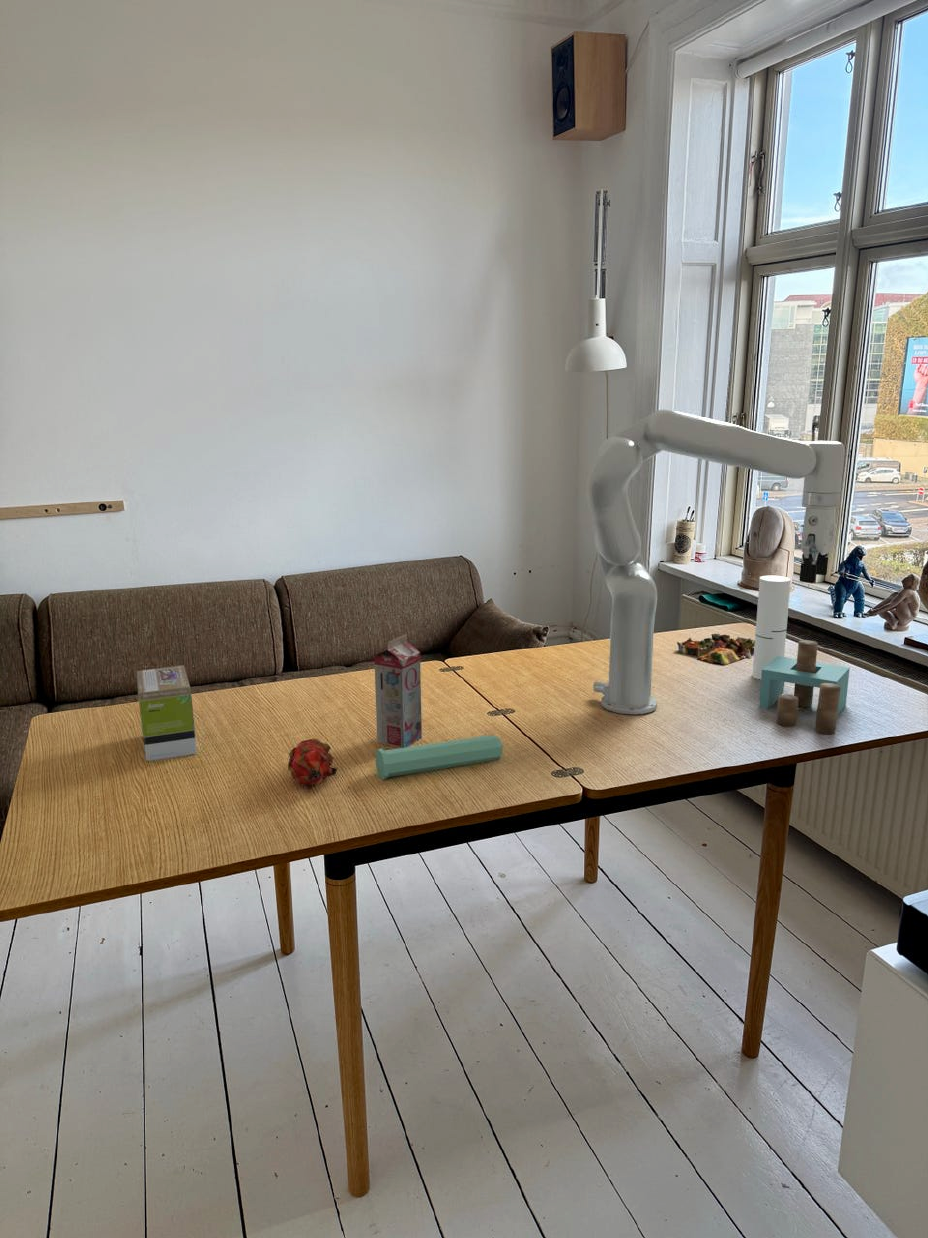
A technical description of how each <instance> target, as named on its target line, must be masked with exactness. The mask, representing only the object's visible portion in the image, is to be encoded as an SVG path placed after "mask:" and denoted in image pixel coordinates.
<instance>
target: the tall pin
mask: <svg viewBox="0 0 928 1238" xmlns="http://www.w3.org/2000/svg"><path fill="white" fill-rule="evenodd" d="M797 645H798V646H797V656H796V659H797V666H796V671H802V672H808V673H814V674H815V667H816V662H817V654H818V642H817V641H814V640H809V639H808V640H807V639H804V640H798V644H797ZM814 688H815V687H812V686H806V685H800V684H794V689H793V691H794V692H793V695H794V696H796V697H798V708H799V709H798V710H811V709H812V708H813V707H812V706H813V698H814ZM810 708H811V709H810Z"/></svg>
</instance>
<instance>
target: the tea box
mask: <svg viewBox="0 0 928 1238" xmlns="http://www.w3.org/2000/svg"><path fill="white" fill-rule="evenodd" d="M136 684H137V695H138V704H139V705H138V706H139V707H138V708H139V714H140V722H141V723H140V724H141V730H142V731H141V732H142V739H143V746H144V752H145V754H144V755H145V761H147V762H153V761H158V760H159V761H161V760H166V759H173V758H179V757H186V756H193V755H196V754H198V753H197V752H198V751H197V749H198V748H197V741H196V739H197V738H196V728H195V720H194V718H195V717H194V709H193V707H194V706H193V699H192V691H191V689H192V688H191V685H190V681H189V678H188V676H187V671H186V668H185V665H183V664H182V665H175V666H166V667H160V668H151V669H143V670H136Z"/></svg>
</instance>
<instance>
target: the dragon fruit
mask: <svg viewBox="0 0 928 1238" xmlns="http://www.w3.org/2000/svg"><path fill="white" fill-rule="evenodd" d="M330 749H331V746H330V745H329V744H328V743H324V742H321V741H320V739H318V738H309V739H306V740H301V741H300V742H298V744H297V746H296V747H293V748H292V749H291V750H290V752H289V753H288V756H289V762H288V764H287V770H288V771H287V772H290V775H291V777H292V779H293V780H297V782H298V783H299V784H300V785H301V787H302V788H305V789H308V790H309V789H311V787H313V785H315V786H319V785H321V784H322V783H324V781H325V780H327V778H328V777H331V776H335V775H336V773H337V772H338V767H335V766H334V767H332V766H333V765H332V764H333V762H334V758H335V757H334V756H333V755H332V754H331V753H329V752H330Z"/></svg>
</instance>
